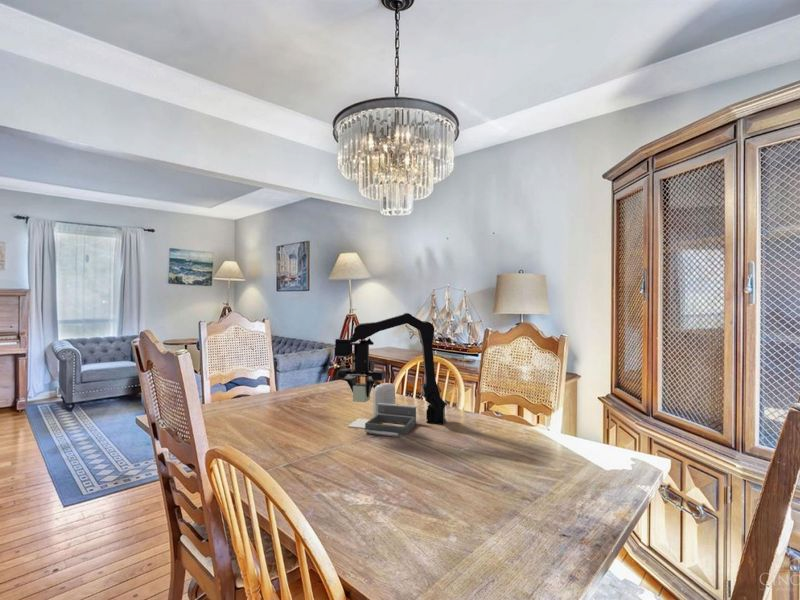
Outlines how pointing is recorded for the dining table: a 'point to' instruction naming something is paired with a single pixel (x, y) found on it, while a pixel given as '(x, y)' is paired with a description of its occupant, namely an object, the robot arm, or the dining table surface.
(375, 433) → the rod
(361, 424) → the pad
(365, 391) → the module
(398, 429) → the case base
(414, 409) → the case lid open
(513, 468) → the dining table surface
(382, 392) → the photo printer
